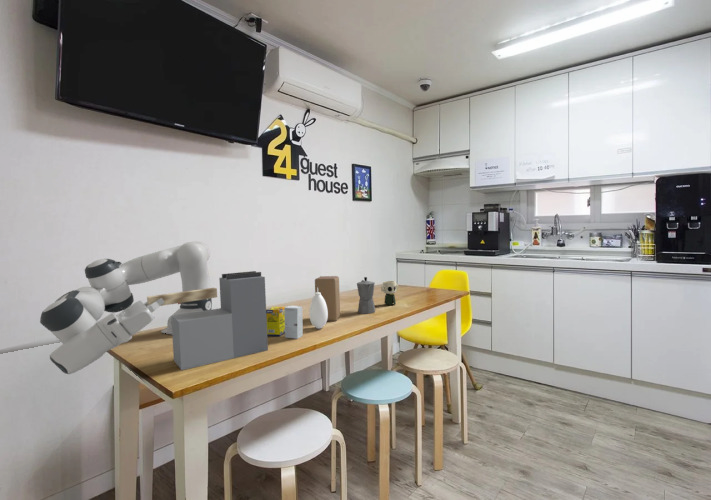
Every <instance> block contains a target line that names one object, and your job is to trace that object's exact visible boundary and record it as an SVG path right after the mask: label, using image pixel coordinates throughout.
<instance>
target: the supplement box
mask: <svg viewBox="0 0 711 500" xmlns="http://www.w3.org/2000/svg"><path fill="white" fill-rule="evenodd" d="M285 307H286V306H271V307H269V308H266V317H267V337H281V336H283V335H285Z"/></svg>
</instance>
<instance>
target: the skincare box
mask: <svg viewBox="0 0 711 500" xmlns="http://www.w3.org/2000/svg"><path fill="white" fill-rule="evenodd" d="M284 307H285V333H284V338H285V339H295V340H297V339H300V338H301V337H303V335H304V334H303V332H304V331H303V329H304V327H303V326H304V325H303V323H304V322H303V306H301V305H287V306H284Z"/></svg>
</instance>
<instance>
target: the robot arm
mask: <svg viewBox="0 0 711 500" xmlns="http://www.w3.org/2000/svg"><path fill="white" fill-rule="evenodd" d="M210 255H211V252H210V248H209V246H207V244H205V243H203V242H201V241H188V242H184V243H183V244H182V245H177V246H174V247H170V248H166V249H162V250H158V251H155V252H152V253H148V254H146V255H145V254H144V255H142V256H139V257H138V256H137V257H136V258H133V259H131V260H128V261H125V262H123V263H122V262H121V261H117V260H114V259H111V258H101V259H97V260H94V261H92V262H90V264H88V265H86V267H85V268H84V274H85V277H86V279H88V282H89V285H90V286H82V287H79V288H77V289H75V290H71V291H69V292H66V293H65V294H63V295H61V296H60V297H59V298H57V299H56V300H55V301H54V302H52V303H51V304H49V305H48V306H47V307H46V308H45V309H44V310H42V312H41V315H40V321H39V323H40V324H41V325H42V326H43V327H44V328H45V329H47V330H48V331H49V332H51V334H53V335H54V336H55V338H57V339H58V340H59V341H60V342H61V345H60V346H59V347H57V348H56V349H55V350H53V351H52V352H51V353H50V354H49V360H50V361H51V362H52V363H53V364H54V365H55V366H56V367H57V368H58V369H59V370H60V371H61V372H62V373H64V374H67V375H72V374H75V373H77V372H79V371H80V370H83V369H84V368H86V367H88V366H90V365H91V364H93V363H95V361H97V360H99V359H100V358H102V356H103V355H105V353H106V352H108V351H110V350H112V349H115V348H117V347H118V346H120V345H121V344H125V343H127V342H129V341H130V340H132V338H133V336H134V335H135V334H137V333H138V332H140V331H141V330H143V329H144V328H146V327H147V326H148V325H149V324H150V323H151V322H153V320H154V319H155V315H154V314H153V312H155V311H156V310H157V309H158V308H160V307H161V306H160V305H162V304H163V303H164V300H163V299H162V298H159V299H157V300H156V301H155V302H154V303H152V304H151V305H148V303H147V301H146V302H144V303H143V302H142V300H137V301H136V302H135V300H134V295H133V293H132V291H131V289H130V285H131V286H132V285H134V286H135V285H139V284H144V283H148V282H152V281H156V280H158V279H162V278H165V277H168V276H172V275H175V274H179V273H180V274H179V275H180V279H181V290H182V291H181V292H185V291H192V290H200V289H207V288H211V280H210V276H209V270H208V261H209V259H210ZM212 300H213V298H209V299H203V300H196V301H190V302H183V303H177V305H179V308H178V309H177V310H176V311H175V312H174V313H173V314H172V315H178V314H185V313H192V312H199V311H206V310H212V309H213V308H212V305H213V301H212ZM105 312H107V313H110V314H108V315H106V316H105V317H103V315H104V313H105ZM115 313H118V314H115ZM102 317H103V318H102ZM101 318H102V319H101ZM166 326H167V327H165V328H163V329H162V330H161V333H162V334H165V333H166V334H167V335H172V319H171V315H170V316H169V317H168V319H167V325H166Z"/></svg>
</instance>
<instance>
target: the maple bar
mask: <svg viewBox="0 0 711 500" xmlns="http://www.w3.org/2000/svg"><path fill="white" fill-rule="evenodd" d="M159 298H162V299H163V300H164V303H163V304H162V305H160V306H159V307H163V306H168V305H176V304H177V305H178V303H183V302H190V301H196V300H203V299H209V298H211V299H215V298H218V288H216V287H210V288H207V289H200V290H192V291H185V292H182V291H178V292H173V293H172V292H171V293H164V294H155V295H149V296H146V302H147V303H148V305H151V304H152V303H154V302H155V301H156V300H157V299H159Z"/></svg>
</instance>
